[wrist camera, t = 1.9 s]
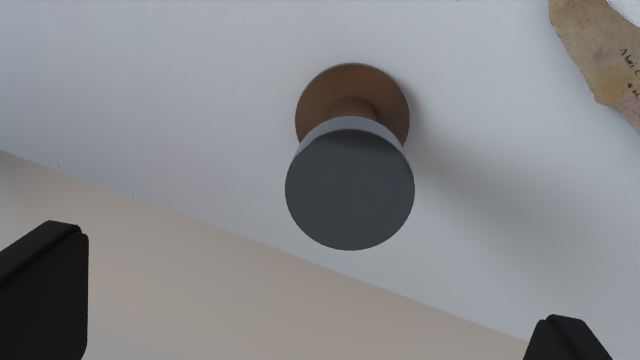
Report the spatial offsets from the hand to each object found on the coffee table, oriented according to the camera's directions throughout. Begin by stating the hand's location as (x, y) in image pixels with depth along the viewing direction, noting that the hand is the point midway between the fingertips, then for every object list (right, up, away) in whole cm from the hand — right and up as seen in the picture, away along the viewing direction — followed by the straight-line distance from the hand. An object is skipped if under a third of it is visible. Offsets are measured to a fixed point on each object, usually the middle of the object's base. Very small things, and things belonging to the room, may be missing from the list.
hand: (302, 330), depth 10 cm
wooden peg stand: (+2, +7, +20) cm, 22 cm away
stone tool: (+19, +9, +19) cm, 28 cm away
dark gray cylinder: (+2, +3, +10) cm, 11 cm away
